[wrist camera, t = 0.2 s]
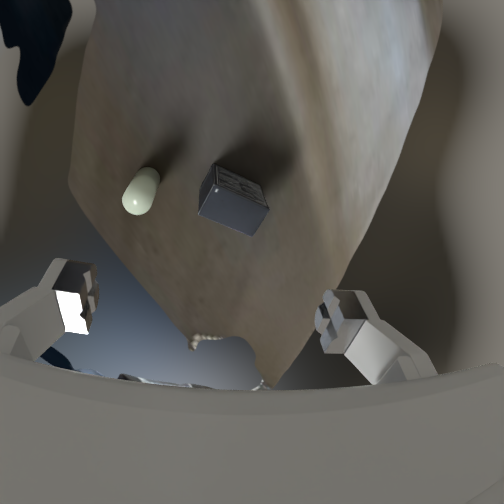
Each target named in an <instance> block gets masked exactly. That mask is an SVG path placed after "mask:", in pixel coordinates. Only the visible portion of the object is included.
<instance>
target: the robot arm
mask: <svg viewBox="0 0 504 504" xmlns="http://www.w3.org/2000/svg"><path fill="white" fill-rule="evenodd" d="M96 276H97V269H96V265H95V264H92V263H85V262H79V261H73V260H66V259H60V258H56V259H54V260H53V262H52V263H51V265H50V267H49V268H48V270H47V272H46V273H45V275H44V277H43V278H42V280H41V282H40V284H39V285H38V287H33V288H31V289H29V290H28V291H26V292H24V293H23V294H21V295H19V296H18V297H16V298H14V299H13V300H11V301H9V302H8V303H6V304H5V305H3V306H1V307H0V504H504V367H502V366H501V365H499V364H497V363H489V364H485V365H482V366H478V367H474V368H470V369H465V370H461V371H456V372H451V373H447V374H442V375H438V374H437V372H436V370H435V368H434V366H433V364H432V362H431V361H430V359H429V357H428V355H427V353H426V352H424V351H423V350H422V349H420V348H419V347H418V346H417V345H415V344H414V343H413V342H411V341H410V340H409V339H407V338H406V337H405V336H404V335H402V334H401V333H400V332H398V331H397V330H396V329H394V328H393V327H392V326H390V325H389V324H388V323H386V322H385V321H384V320H380V318H379V317H378V315H377V313H376V311H375V309H374V307H373V305H372V303H371V302H370V300H369V298H368V296H367V295H366V293H365V292H364V291H353V290H352V291H348V290H334V289H327V291H326V292H325V293H324V295H323V300H324V302H323V303H322V304H321V305H319V306H318V308H317V311H316V313H315V326H316V329H317V331H318V332H319V333H320V334H322V337H321V338H320V341H321V344H322V347H323V350H324V353H345V356H346V357H347V358H348V359H349V360H350V361H351V362H352V363H353V364H354V365H355V366H356V368H357V369H358V370H360V372H361V373H362V374H363V375H364V376H365V377H366V378H367V379H368V380H369V381H370V382H371V383H372V385H366V386H356V387H345V388H332V389H314V390H287V391H286V390H283V391H251V390H219V389H202V388H189V387H177V386H167V385H158V384H149V383H141V382H134V381H127V380H120V379H114V378H108V377H102V376H97V375H91V374H86V373H81V372H76V371H71V370H67V369H62V368H58V367H54V366H49V365H45V364H41V363H37V362H34V361H35V360H36V359H37V358H38V357H39V356H40V355H41V354H42V353H43V352H45V351H46V350H47V349H48V348H49V347H50V346H51V345H52V344H53V343H54V342H55V341H56V340H57V339H59V338H60V337H61V336H62V335H63V334H64V333H65V332H66V331H71V332H78V333H83V334H88V332H89V329H90V326H91V323H92V315H91V313H92V312H94V311H95V310H96V308H97V305H98V299H99V285H98V283H97V282H96V281H95V278H96Z"/></svg>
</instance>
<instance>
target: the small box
mask: <svg viewBox="0 0 504 504" xmlns="http://www.w3.org/2000/svg"><path fill="white" fill-rule="evenodd" d="M269 210H270V209H269V207H268V205H267V202H266V200H265V197H264V194H263V192H262V189H261V186H260V185H258V184H256V183H254V182H252V181H250V180H248V179H246V178H244V177H242V176H240V175H238V174H236V173H234V172H231V171H229V170H227V169H225V168H223V167H221V166H218V165H216V164H212V166H211V168H210V170H209V172H208V174H207V176H206V178H205V180H204V181H203V183H202V185H201V188H200V194H199V211H198V215H200V216H203V217H205V218H208V219H210V220H213V221H215V222H217V223H220V224H222V225H225V226H227V227H230V228H232V229H234V230H237V231H239V232H241V233H244V234H246V235H248V236H251V237H252V236H253V235H254V234H255V232H256V231H257V229H258V228H259V226H260V225H261V223H262V221H263V220H264V218H265V217H266V215H267V213H268V212H269Z"/></svg>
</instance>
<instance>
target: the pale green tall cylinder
mask: <svg viewBox="0 0 504 504" xmlns="http://www.w3.org/2000/svg"><path fill="white" fill-rule="evenodd" d="M159 183H160V176H159V173H158V172H157V171H156V170H155V169H153V168H151V167H144V168H141V169H140V170H139V171H138V172H137V173H136V175H135V176H134V178H133V180H132V181H131V183H130V184H129V186H128V188H127V189H126V191H125V193H124V195H123V198H122V202H123V206H124V207H125V209H126V210H127V211H128V212H130V213H132V214H135V215H141V214H144V213H146V212H147V211H148V210H149V209H150V207H151V204H152V202H153V199H154V196H155V194H156V191H157V189H158V186H159Z"/></svg>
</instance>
